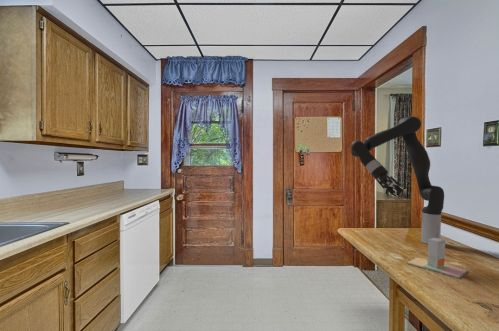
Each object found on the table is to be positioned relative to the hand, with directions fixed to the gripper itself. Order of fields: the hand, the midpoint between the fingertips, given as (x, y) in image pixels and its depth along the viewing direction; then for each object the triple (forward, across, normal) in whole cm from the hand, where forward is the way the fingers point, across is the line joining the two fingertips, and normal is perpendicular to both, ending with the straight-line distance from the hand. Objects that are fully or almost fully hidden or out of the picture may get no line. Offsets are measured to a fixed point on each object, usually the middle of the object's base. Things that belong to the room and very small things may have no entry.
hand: (397, 193), depth 146 cm
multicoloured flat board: (+36, -7, +7) cm, 38 cm away
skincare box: (+36, -7, +7) cm, 37 cm away
